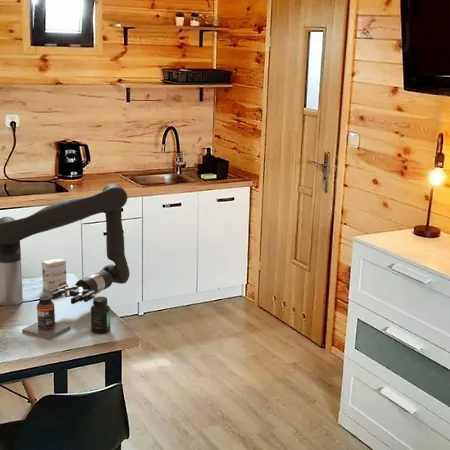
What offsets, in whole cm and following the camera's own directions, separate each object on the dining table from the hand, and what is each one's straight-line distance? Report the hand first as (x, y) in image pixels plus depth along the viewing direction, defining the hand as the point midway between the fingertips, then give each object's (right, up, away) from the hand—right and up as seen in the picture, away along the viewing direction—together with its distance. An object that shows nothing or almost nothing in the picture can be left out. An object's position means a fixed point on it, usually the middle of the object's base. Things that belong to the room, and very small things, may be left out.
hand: (62, 299), depth 254 cm
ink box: (-11, +1, +36) cm, 38 cm away
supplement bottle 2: (+14, -11, -4) cm, 18 cm away
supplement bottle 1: (-4, -10, -5) cm, 12 cm away
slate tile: (-4, -11, -5) cm, 13 cm away
